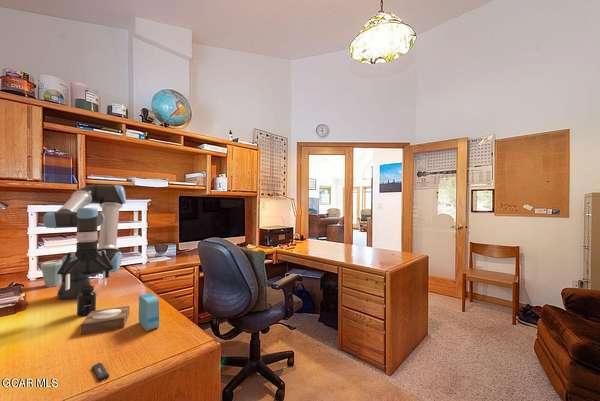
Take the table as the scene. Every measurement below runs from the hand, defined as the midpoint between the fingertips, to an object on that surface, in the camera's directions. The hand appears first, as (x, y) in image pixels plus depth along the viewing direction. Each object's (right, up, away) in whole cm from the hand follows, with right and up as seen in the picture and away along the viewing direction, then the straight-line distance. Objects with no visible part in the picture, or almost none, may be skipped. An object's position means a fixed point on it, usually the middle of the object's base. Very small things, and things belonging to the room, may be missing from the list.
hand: (86, 287), depth 121 cm
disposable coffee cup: (-55, -13, +41) cm, 70 cm away
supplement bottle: (0, -12, 0) cm, 12 cm away
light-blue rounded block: (+35, -12, -12) cm, 39 cm away
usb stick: (+39, -12, -42) cm, 59 cm away
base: (+17, -12, -10) cm, 23 cm away
